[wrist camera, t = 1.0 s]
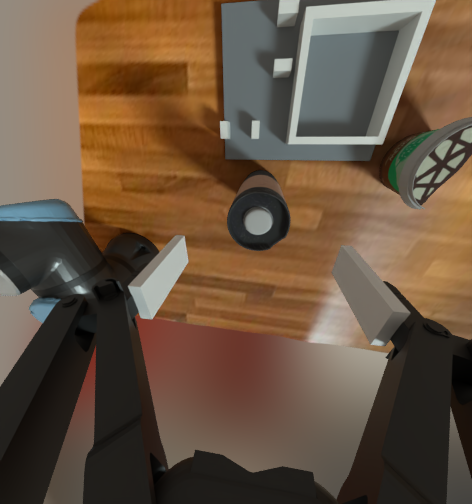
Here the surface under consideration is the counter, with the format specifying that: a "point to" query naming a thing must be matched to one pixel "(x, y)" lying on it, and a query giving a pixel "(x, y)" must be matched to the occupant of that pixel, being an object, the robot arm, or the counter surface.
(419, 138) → the food container
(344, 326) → the counter surface
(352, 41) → the grey fixture board
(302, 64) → the end holder
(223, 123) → the clips
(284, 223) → the travel mug
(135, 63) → the counter surface
